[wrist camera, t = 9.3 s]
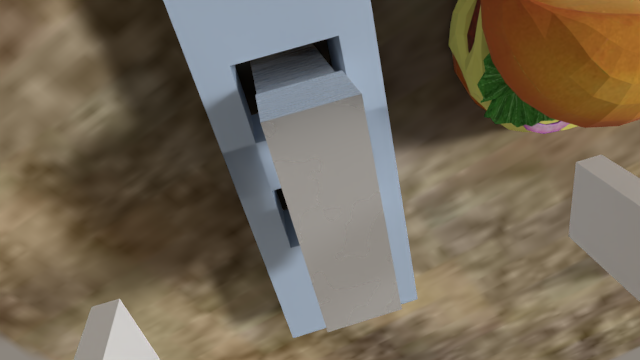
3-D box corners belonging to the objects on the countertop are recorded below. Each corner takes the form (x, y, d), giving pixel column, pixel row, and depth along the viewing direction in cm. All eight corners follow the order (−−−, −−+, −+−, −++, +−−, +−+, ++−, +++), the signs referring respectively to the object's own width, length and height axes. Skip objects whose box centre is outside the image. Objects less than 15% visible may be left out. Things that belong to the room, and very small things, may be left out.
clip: (246, 47, 21) (260, 122, 13) (308, 30, 21) (361, 93, 13) (294, 203, 25) (328, 332, 17) (345, 188, 26) (401, 309, 17)
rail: (139, -102, 17) (121, -109, 14) (324, -150, 18) (344, -167, 15) (285, 295, 29) (293, 337, 26) (397, 260, 29) (417, 299, 26)
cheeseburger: (465, 156, 26) (567, 221, 16) (392, -25, 23) (465, -75, 13) (630, 76, 25) (838, 95, 16) (577, -122, 22) (796, -249, 13)
